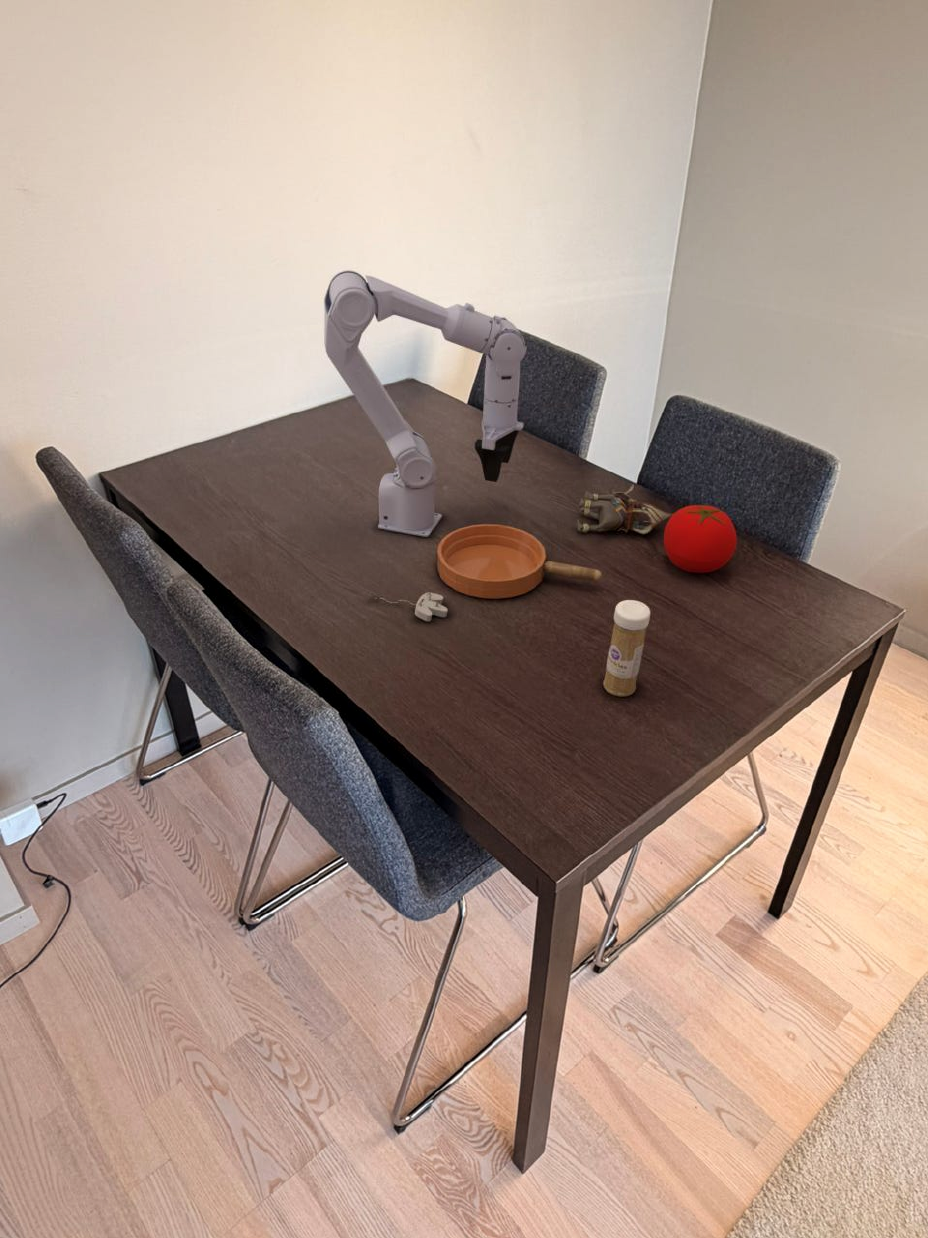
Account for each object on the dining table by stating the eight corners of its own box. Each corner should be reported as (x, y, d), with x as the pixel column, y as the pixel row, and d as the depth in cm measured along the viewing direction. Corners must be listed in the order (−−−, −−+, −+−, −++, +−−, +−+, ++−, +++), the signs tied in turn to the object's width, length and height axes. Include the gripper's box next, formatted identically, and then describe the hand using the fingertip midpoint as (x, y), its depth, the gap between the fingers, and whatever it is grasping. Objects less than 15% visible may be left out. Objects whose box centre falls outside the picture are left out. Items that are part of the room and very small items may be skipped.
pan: (422, 588, 139) (422, 569, 137) (455, 534, 153) (456, 516, 151) (529, 609, 135) (531, 589, 133) (553, 552, 149) (555, 534, 147)
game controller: (447, 624, 132) (447, 610, 130) (370, 622, 132) (370, 608, 130) (448, 602, 136) (448, 588, 135) (374, 600, 136) (373, 586, 135)
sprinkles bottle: (596, 688, 120) (608, 609, 113) (614, 672, 123) (627, 594, 115) (625, 703, 118) (639, 623, 110) (642, 686, 121) (657, 607, 113)
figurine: (586, 469, 163) (677, 481, 161) (582, 499, 166) (671, 510, 164) (576, 514, 147) (678, 527, 144) (572, 546, 150) (671, 560, 147)
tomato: (673, 586, 142) (685, 530, 135) (649, 547, 151) (659, 493, 145) (739, 582, 143) (753, 526, 137) (711, 543, 153) (723, 490, 147)
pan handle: (541, 574, 140) (542, 563, 139) (544, 568, 142) (545, 557, 141) (600, 585, 138) (601, 574, 137) (602, 578, 140) (603, 568, 139)
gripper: (513, 416, 138) (508, 492, 146) (534, 384, 149) (529, 457, 157) (471, 410, 140) (468, 486, 148) (495, 379, 151) (491, 451, 159)
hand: (497, 470), depth 153 cm, fingers open, 7 cm apart
